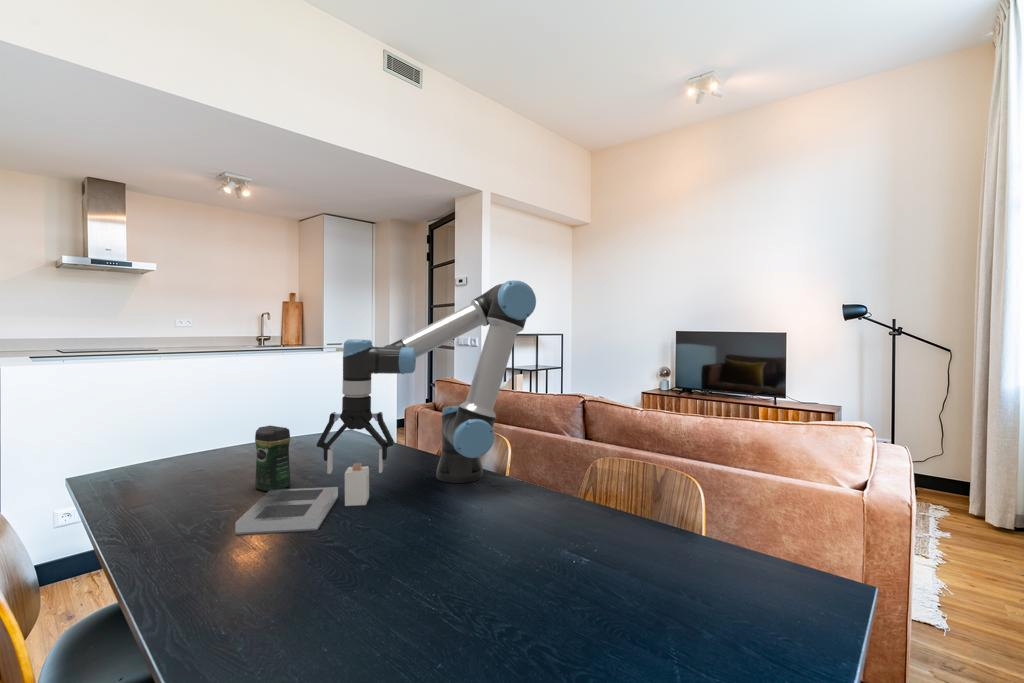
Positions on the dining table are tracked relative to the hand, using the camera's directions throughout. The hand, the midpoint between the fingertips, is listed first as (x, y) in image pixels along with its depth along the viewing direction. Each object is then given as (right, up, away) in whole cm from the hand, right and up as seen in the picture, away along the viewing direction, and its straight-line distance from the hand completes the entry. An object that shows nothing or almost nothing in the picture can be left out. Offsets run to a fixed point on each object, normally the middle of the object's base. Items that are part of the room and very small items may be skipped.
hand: (355, 471), depth 129 cm
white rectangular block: (0, -8, 0) cm, 8 cm away
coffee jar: (-29, -8, +11) cm, 32 cm away
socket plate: (-13, -9, -9) cm, 18 cm away
